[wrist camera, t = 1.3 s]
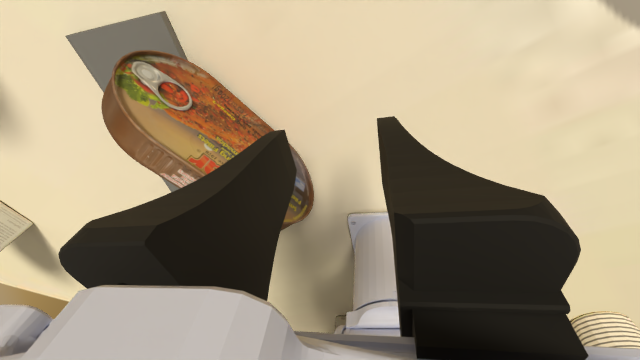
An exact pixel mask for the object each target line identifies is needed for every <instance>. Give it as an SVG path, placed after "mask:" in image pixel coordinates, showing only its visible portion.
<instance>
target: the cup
mask: <svg viewBox="0 0 640 360" xmlns="http://www.w3.org/2000/svg"><path fill="white" fill-rule="evenodd" d="M571 325H572V326H573V328H574V330H575V332H576V334H577V335H578V337H579V339H580V341H581V343H582V344H583V346H598V347H618V348H638V349H640V330H639V329H638V328H637V327H636V326H635V324H634V323H633V322H632V321H631V320H630V318H629V317H628V316H626V315H623V314H620V313H615V312H596V313H591V314H586V315H583V316H580V317H578V318H576V319H574V320H573V321H572V322H571Z"/></svg>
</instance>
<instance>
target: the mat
mask: <svg viewBox="0 0 640 360" xmlns="http://www.w3.org/2000/svg"><path fill="white" fill-rule="evenodd" d="M66 38H67V39H68V41H69V42H70V44H71V45H72V47H73V48H74V49H75V51H76V52H77V54H78V55H79V57H80V58H81V60H82V61H83V63H84V64H85V66H86V67H87V69H88V70H89V72H90V73H91V74H92V76H93V77H94V79H95V80H96V82H97V83H98V85H99V86H100V88H101V89H102V91H103V92H105V89H106V87H107V85H108V83H109V81H110V79H111V77H112V71H113V68H114V66H115V64H116V63H117V61H118V60H119V59H120V58H121V57H123V56H124V55H126V54H128V53H130V52H134V51H139V50H155V51H160V52H165V53H169V54H172V55H176V56H178V57H180V58H183V59H185V60H187V58H186V56H185V54H184V51H183V49H182V47H181V45H180V43H179V41H178V39H177V36H176V34H175V32H174V30H173V28H172V26H171V23H170V21H169V19H168V17H167V15H166V13H165V11H163V12H159V13H155V14H151V15H147V16H143V17H139V18H135V19H131V20H127V21H123V22H119V23H115V24H111V25H107V26H103V27H99V28H95V29H91V30H87V31H82V32H78V33H74V34H71V35H67V36H66ZM187 61H188V60H187ZM162 179H163V180H164V182H165V183H166V185H167V186H168V188H169V189H170V191H171V192H173V191H176V190H178V189H180V188H178V187H176V186H175V185H173V184H172V183H170V182H168V181H167V180H165V179H164V178H162Z"/></svg>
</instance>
